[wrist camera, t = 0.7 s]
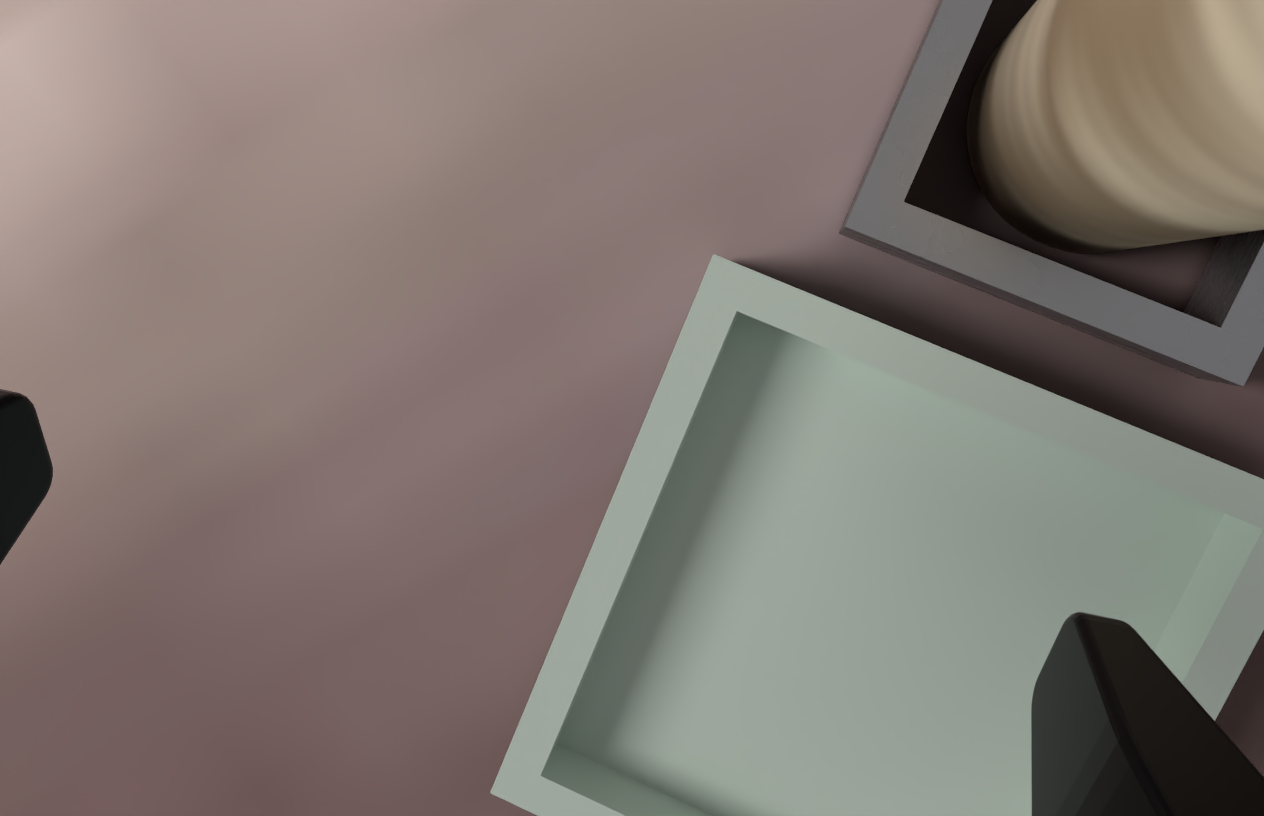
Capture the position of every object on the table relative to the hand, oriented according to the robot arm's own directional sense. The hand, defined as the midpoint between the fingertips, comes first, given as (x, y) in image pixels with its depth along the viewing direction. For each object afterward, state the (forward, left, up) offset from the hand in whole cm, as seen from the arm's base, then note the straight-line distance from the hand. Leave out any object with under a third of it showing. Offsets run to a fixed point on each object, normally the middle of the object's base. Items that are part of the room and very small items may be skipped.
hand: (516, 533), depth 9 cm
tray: (-5, -3, -13) cm, 15 cm away
